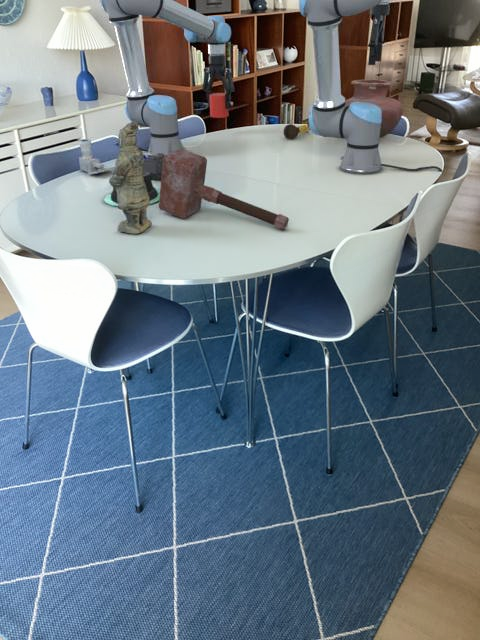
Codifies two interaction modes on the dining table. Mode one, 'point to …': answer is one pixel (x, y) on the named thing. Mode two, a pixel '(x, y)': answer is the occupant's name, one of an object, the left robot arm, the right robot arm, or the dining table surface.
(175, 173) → the sledgehammer
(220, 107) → the canister
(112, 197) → the chocolate cake
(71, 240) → the dining table surface
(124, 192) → the statue
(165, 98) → the left robot arm
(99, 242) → the dining table surface
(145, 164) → the toy
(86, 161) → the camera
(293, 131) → the figurine
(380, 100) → the clay pot
